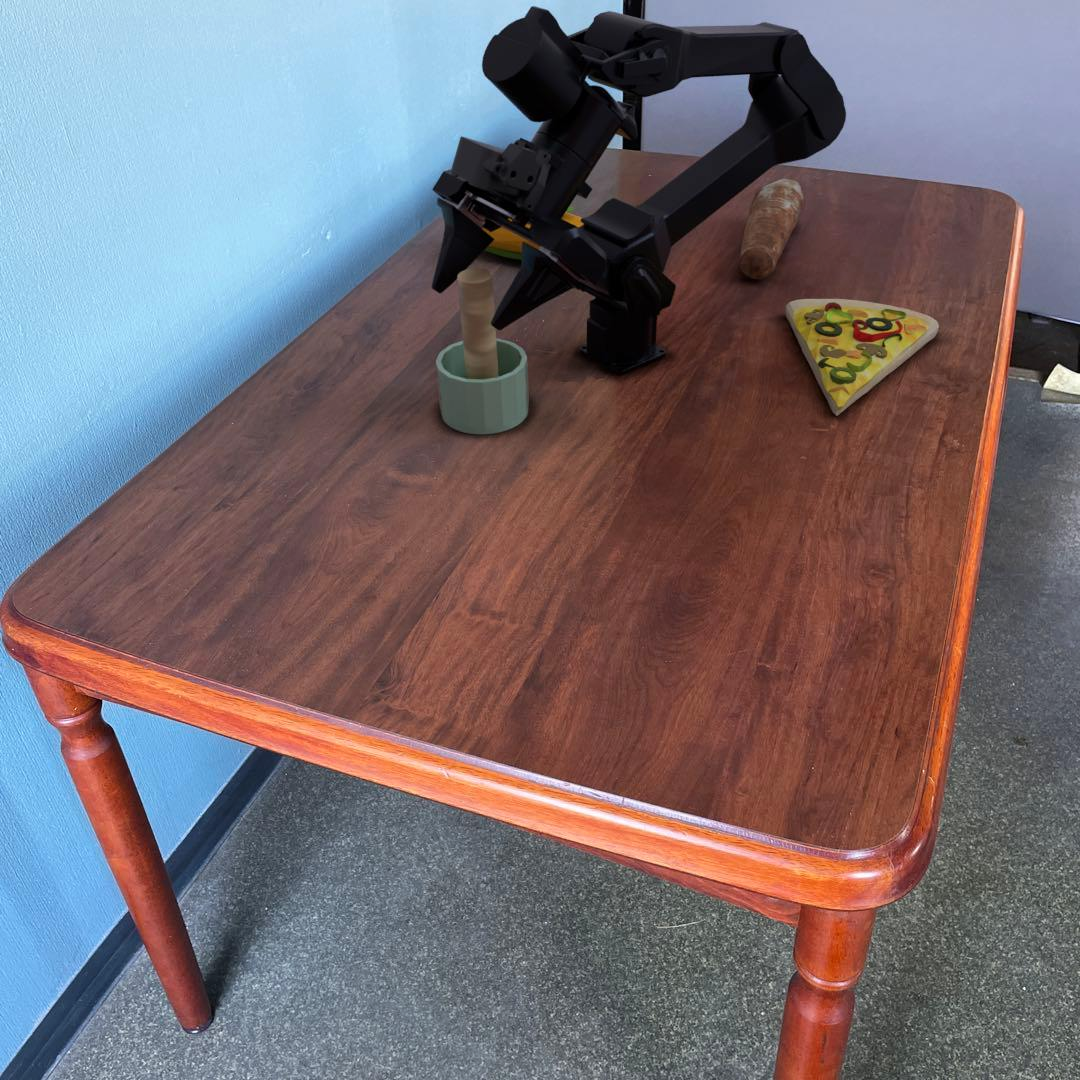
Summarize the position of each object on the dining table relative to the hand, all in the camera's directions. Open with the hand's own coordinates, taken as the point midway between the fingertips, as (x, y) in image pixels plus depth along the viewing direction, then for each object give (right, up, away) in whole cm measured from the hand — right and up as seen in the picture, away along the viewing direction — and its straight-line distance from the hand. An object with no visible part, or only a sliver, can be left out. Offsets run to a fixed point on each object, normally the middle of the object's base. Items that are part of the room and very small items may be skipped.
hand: (464, 308), depth 94 cm
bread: (+34, +14, +34) cm, 50 cm away
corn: (+7, +13, +34) cm, 37 cm away
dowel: (+1, -8, +7) cm, 10 cm away
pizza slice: (+37, -3, +13) cm, 39 cm away
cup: (+1, -8, +7) cm, 11 cm away
